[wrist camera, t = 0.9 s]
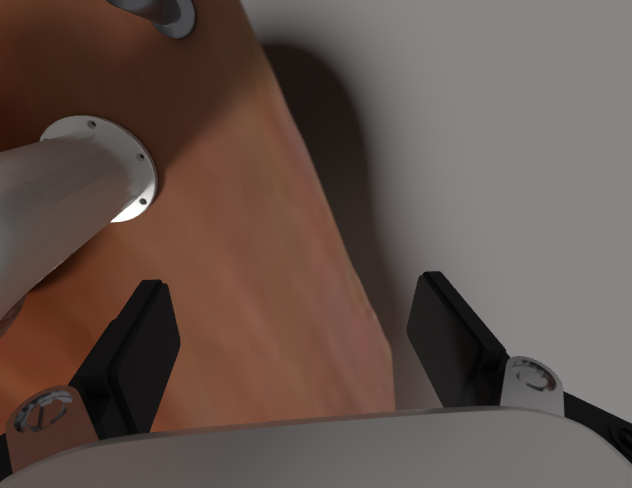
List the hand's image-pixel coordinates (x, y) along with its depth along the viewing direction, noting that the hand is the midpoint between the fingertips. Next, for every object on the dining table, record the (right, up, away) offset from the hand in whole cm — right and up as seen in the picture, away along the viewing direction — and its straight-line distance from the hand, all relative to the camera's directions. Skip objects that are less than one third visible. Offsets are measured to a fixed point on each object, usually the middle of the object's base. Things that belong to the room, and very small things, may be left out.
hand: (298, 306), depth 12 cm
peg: (-13, +25, +19) cm, 35 cm away
